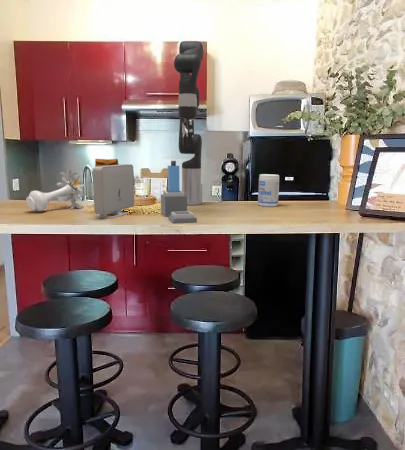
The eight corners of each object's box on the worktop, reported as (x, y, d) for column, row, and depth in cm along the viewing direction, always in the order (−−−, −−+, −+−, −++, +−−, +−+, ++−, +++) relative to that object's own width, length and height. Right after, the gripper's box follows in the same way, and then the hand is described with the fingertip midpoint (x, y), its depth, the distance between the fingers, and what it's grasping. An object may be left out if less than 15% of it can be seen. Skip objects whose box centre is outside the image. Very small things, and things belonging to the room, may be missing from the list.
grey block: (161, 213, 181) (160, 190, 179) (181, 212, 183) (181, 190, 181) (165, 216, 172) (164, 193, 170) (187, 215, 175) (187, 192, 173)
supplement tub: (255, 206, 203) (256, 175, 200) (260, 203, 211) (261, 173, 209) (276, 207, 199) (277, 175, 197) (280, 204, 208) (281, 174, 205)
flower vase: (42, 228, 181) (91, 207, 197) (33, 188, 172) (85, 170, 188) (26, 219, 189) (75, 200, 205) (16, 181, 180) (68, 163, 196)
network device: (108, 219, 165) (106, 167, 161) (88, 218, 167) (86, 166, 164) (139, 210, 188) (138, 164, 185) (121, 209, 191) (120, 164, 187)
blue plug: (167, 194, 178) (167, 160, 175) (177, 194, 179) (177, 160, 176) (169, 195, 174) (169, 160, 171) (179, 195, 175) (179, 160, 172)
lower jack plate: (168, 219, 166) (168, 211, 166) (190, 218, 169) (190, 210, 168) (173, 223, 158) (173, 215, 157) (196, 222, 160) (196, 214, 160)
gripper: (175, 107, 181) (176, 146, 184) (181, 104, 167) (181, 146, 170) (193, 108, 182) (193, 146, 185) (200, 104, 169) (200, 146, 171)
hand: (187, 146), depth 177 cm, fingers open, 8 cm apart
